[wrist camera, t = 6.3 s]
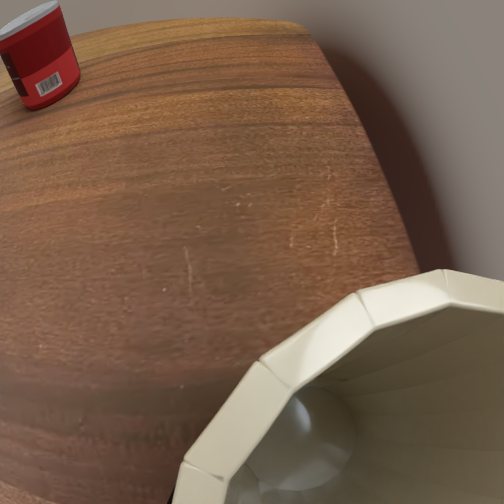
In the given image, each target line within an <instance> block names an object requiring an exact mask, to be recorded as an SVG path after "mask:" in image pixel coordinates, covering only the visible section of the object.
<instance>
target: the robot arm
mask: <svg viewBox="0 0 504 504" xmlns="http://www.w3.org/2000/svg"><path fill="white" fill-rule="evenodd" d="M195 441H196V440H195ZM195 441H194V442H195ZM175 485H176V484H175ZM174 489H175V486H174ZM174 489H173V491H172V493H171V495H170V498H169V500H168V502H167V504H171V503H172V499H173V494H174Z"/></svg>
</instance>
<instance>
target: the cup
mask: <svg viewBox="0 0 504 504" xmlns="http://www.w3.org/2000/svg"><path fill="white" fill-rule="evenodd" d="M183 459H184V460H183V461H182V463H181V464H180V467H179V471H178V476H177V480H176V485H175V489H174V494H173V499H172V503H171V504H504V282H503V281H498V280H494V279H489V278H485V277H480V276H476V275H471V274H467V273H462V272H457V271H453V270H448V269H444V270H441V269H437V270H434V271H430V272H426V273H422V274H419V275H415V276H411V277H407V278H403V279H399V280H395V281H391V282H387V283H383V284H379V285H375V286H371V287H367V288H362V289H358V290H357V291H356V292H355V293H350V294H348V295H347V296H346V297H344V298H343V299H342V300H340V301H339V302H338V303H336V304H335V305H334V306H332V307H331V308H329V309H328V310H327V311H325V312H324V313H323V314H321V315H320V316H318V317H317V318H316V319H314V320H313V321H311V322H310V323H308V324H307V325H306V326H304V327H303V328H301V329H300V330H298V331H297V332H295V333H294V334H293V335H291V336H290V337H288V338H287V339H285V340H284V341H282V342H281V343H279V344H278V345H276V346H275V347H273V348H272V349H270V350H269V351H267V352H266V353H264V354H263V355H261V356H260V358H259V359H258V361H255V362H254V363H252V365H251V366H250V368H249V369H248V371H247V372H246V373H245V375H244V376H243V378H242V379H241V380H240V382H239V383H238V385H237V386H236V387H235V389H234V390H233V392H232V393H231V394H230V396H229V397H228V398H227V400H226V401H225V402H224V404H223V405H222V407H221V408H220V409H219V411H218V412H217V413H216V415H215V416H214V417H213V419H212V420H211V421H210V423H209V424H208V425H207V426H206V428H205V429H204V430H203V432H202V433H201V434H200V436H199V437H198V438H197V439H196V441H195V442H194V443H193V445H192V446H191V447H190V448H189V450H188V451H187V452H186V454H185V455H184V458H183Z"/></svg>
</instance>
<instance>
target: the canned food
mask: <svg viewBox="0 0 504 504" xmlns="http://www.w3.org/2000/svg"><path fill="white" fill-rule="evenodd" d="M0 55H1V58H2V60H3V62H4V64H5V66H6V69H7V71H8V73H9V75H10V77H11V79H12V81H13V83H14V85H15V87H16V89H17V91H18V93H19V95H20V97H21V99H22V101H23V103H24V105H25V106H26V107H27V108H29V109H31V110H36V109H40V108H43V107H46V106H48V105H50V104H52V103H54V102H56V101H57V100H59V99H61V98H62V97H64V96H65V95H66V94H67V93H69V92H70V91H71V90H72V89H73V88H74V87H75V86H76V84H77V83H78V82H79V80H80V68H79V65H78V62H77V59H76V56H75V53H74V50H73V47H72V44H71V41H70V38H69V35H68V32H67V28H66V25H65V21H64V18H63V14H62V11H61V8H60V5H59V3H58V1H51V2H48V3H45V4H43V5H40V6H38V7H36V8H34V9H32V10H30V11H28V12H26V13H25V14H23V15H21V16H19V17H18V18H16V19H15V20H13V21H12V22H10V23H9V24H7V25H6V26H4V27H3V28H2V29H1V30H0Z"/></svg>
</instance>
